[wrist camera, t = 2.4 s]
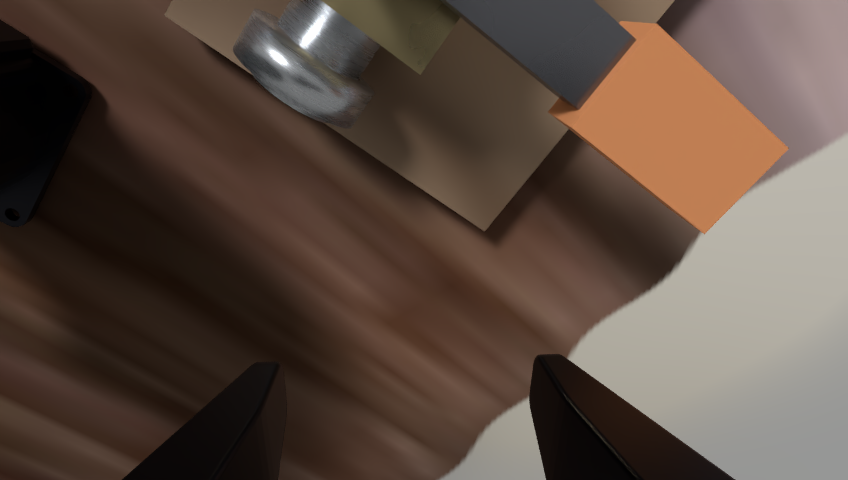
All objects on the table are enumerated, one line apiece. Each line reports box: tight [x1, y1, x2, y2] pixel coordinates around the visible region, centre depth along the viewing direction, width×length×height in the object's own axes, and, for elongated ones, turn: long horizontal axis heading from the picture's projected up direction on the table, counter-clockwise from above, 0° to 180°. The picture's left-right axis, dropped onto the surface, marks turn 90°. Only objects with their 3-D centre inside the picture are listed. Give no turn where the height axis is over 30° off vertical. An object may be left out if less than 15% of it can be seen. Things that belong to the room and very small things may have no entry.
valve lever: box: [440, 0, 789, 234], centre depth 12 cm, size 11×3×2 cm, turn 54°
